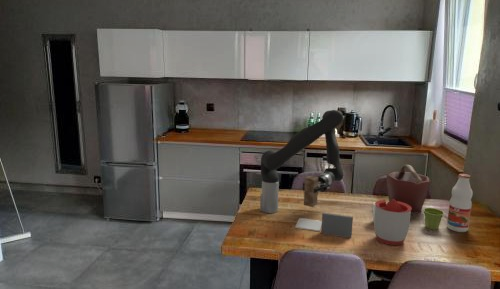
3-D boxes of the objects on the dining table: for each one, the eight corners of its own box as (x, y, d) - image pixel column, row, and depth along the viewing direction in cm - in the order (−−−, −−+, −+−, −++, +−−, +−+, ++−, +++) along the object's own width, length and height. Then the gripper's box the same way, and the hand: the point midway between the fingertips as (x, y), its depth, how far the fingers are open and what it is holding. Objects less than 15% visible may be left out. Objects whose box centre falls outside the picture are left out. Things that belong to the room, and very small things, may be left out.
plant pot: (440, 225, 189) (442, 209, 187) (443, 232, 180) (445, 215, 178) (420, 222, 192) (422, 206, 190) (422, 229, 183) (424, 213, 181)
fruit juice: (471, 229, 184) (479, 175, 179) (462, 234, 179) (470, 178, 173) (451, 223, 191) (458, 171, 186) (443, 227, 186) (450, 174, 180)
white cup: (388, 226, 186) (390, 207, 184) (372, 224, 188) (374, 206, 186) (386, 220, 194) (388, 202, 192) (370, 219, 195) (372, 201, 193)
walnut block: (303, 205, 183) (304, 177, 180) (307, 202, 187) (309, 175, 184) (313, 207, 180) (314, 179, 178) (317, 204, 185) (318, 177, 182)
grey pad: (295, 227, 182) (295, 226, 182) (299, 218, 193) (299, 217, 193) (319, 231, 178) (319, 230, 178) (322, 222, 190) (322, 221, 190)
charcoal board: (321, 233, 176) (322, 213, 175) (321, 232, 178) (322, 212, 176) (351, 237, 172) (352, 217, 170) (351, 236, 174) (353, 216, 172)
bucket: (427, 218, 197) (432, 173, 193) (383, 212, 205) (388, 168, 200) (423, 203, 220) (428, 163, 215) (384, 198, 227) (387, 159, 223)
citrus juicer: (404, 233, 178) (408, 194, 174) (411, 249, 162) (415, 206, 158) (370, 229, 182) (373, 191, 178) (373, 245, 165) (377, 203, 161)
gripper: (310, 172, 197) (296, 179, 183) (335, 176, 189) (323, 185, 175) (309, 185, 198) (295, 194, 184) (334, 190, 191) (322, 200, 177)
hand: (309, 189), depth 180 cm, fingers closed on walnut block, 5 cm apart
